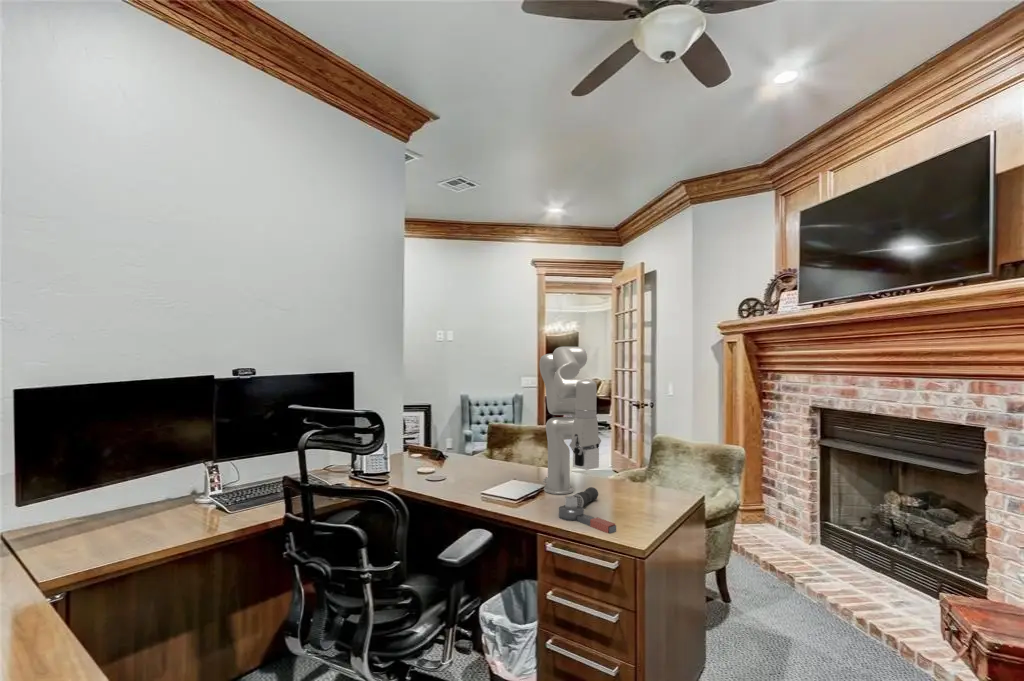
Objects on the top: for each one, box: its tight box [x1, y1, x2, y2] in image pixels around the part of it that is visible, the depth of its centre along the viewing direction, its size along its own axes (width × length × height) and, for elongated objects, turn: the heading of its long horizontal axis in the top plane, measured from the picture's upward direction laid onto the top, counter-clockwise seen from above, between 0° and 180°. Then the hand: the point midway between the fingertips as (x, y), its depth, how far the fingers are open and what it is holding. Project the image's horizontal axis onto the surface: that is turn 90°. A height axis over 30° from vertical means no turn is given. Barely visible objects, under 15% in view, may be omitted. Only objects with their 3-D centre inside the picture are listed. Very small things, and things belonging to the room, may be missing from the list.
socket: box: [572, 446, 600, 471], centre depth 175 cm, size 7×7×7 cm
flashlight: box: [572, 486, 599, 508], centre depth 192 cm, size 15×5×5 cm, turn 146°
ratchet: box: [558, 495, 617, 534], centre depth 170 cm, size 24×9×7 cm, turn 38°
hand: (585, 463), depth 175 cm, fingers closed on socket, 6 cm apart
